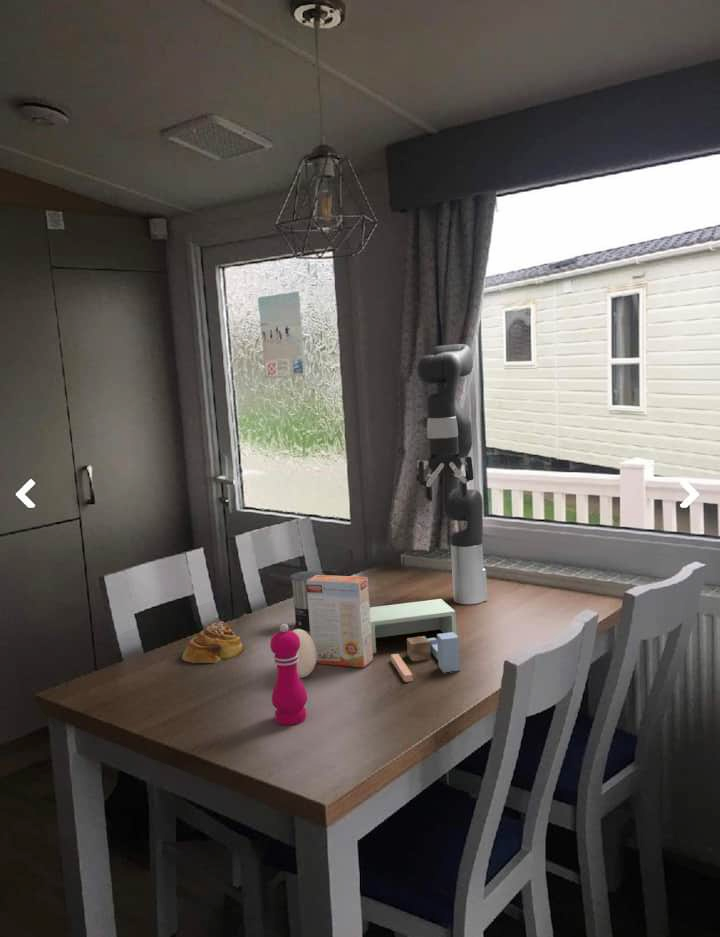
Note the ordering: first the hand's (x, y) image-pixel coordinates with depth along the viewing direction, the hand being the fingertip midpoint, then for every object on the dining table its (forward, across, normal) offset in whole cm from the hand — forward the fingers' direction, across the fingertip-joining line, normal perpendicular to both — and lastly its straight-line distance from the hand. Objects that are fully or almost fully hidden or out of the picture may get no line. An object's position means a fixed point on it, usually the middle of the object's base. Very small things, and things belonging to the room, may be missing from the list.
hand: (446, 499), depth 201 cm
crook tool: (+36, +9, +14) cm, 40 cm away
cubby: (+36, +11, -3) cm, 38 cm away
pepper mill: (+36, +46, +34) cm, 68 cm away
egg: (+36, +41, +12) cm, 56 cm away
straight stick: (+36, +18, +17) cm, 44 cm away
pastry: (+37, +60, -12) cm, 72 cm away
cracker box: (+36, +30, +6) cm, 47 cm away
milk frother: (+36, +29, -26) cm, 53 cm away
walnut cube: (+36, +12, +10) cm, 39 cm away
